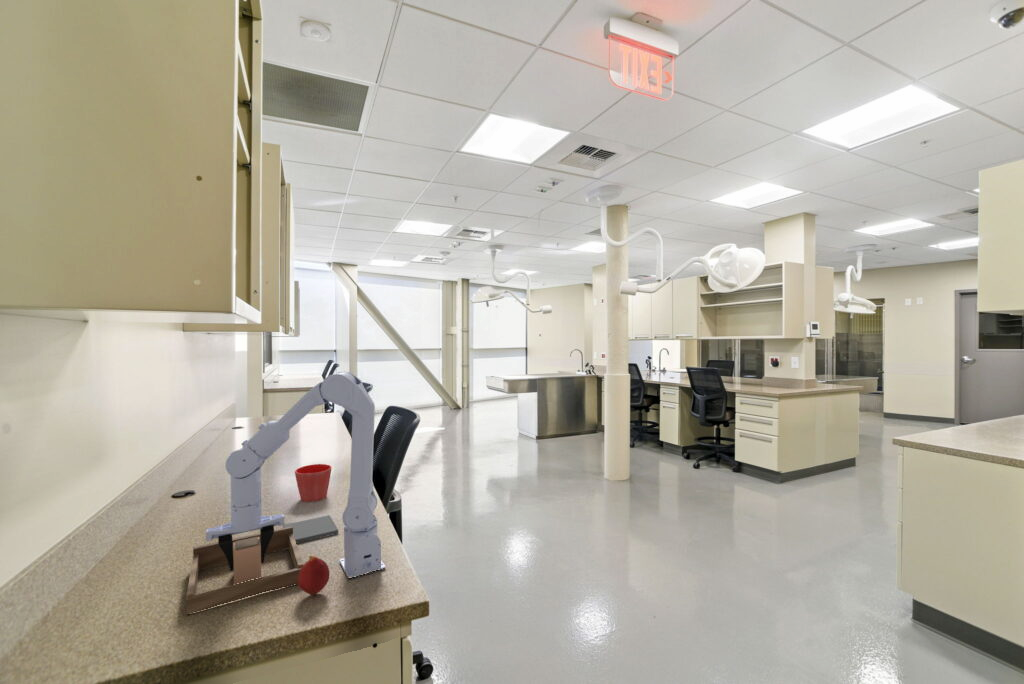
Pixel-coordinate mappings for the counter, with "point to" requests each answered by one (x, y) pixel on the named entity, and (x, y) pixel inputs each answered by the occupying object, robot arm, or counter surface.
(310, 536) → the rubber mat
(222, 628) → the counter surface
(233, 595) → the open wooden frame
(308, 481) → the flower pot
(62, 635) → the counter surface
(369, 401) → the robot arm
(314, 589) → the onion
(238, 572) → the upright tan block
